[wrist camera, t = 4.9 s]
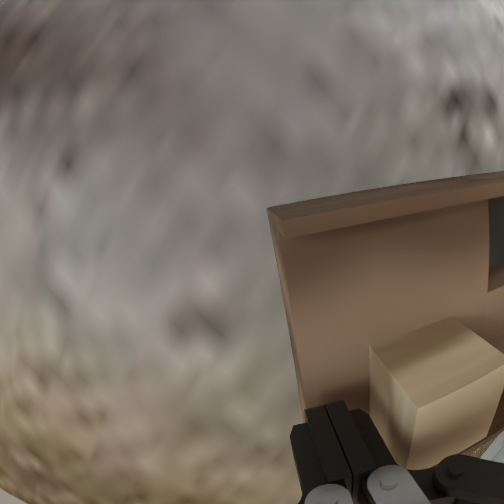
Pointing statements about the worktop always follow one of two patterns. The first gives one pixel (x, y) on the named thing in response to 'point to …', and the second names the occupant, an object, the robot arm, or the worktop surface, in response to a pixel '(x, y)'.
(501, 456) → the skincare box
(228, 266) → the worktop surface
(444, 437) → the maple block
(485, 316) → the box
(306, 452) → the robot arm
